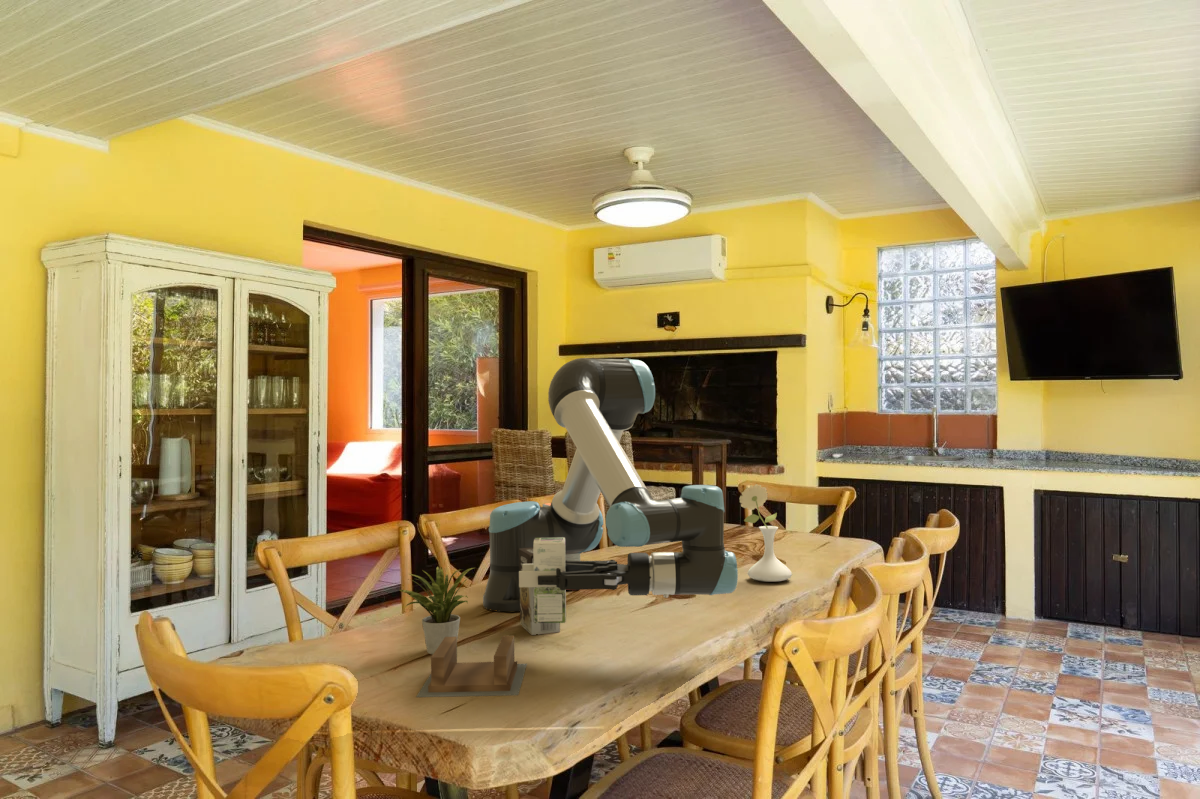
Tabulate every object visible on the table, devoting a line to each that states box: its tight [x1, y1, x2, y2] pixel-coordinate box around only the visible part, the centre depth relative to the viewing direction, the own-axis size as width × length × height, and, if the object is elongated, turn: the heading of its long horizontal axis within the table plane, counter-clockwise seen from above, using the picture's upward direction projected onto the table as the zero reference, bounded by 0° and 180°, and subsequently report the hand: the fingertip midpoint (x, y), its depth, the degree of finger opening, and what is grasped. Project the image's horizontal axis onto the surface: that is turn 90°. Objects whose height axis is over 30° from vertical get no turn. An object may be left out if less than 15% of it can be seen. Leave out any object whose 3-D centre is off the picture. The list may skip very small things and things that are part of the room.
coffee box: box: [519, 548, 561, 636], centre depth 168 cm, size 9×6×16 cm
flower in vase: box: [739, 483, 793, 583], centre depth 211 cm, size 13×11×25 cm
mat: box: [415, 663, 528, 698], centre depth 135 cm, size 16×16×1 cm
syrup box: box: [533, 537, 567, 624], centre depth 146 cm, size 6×6×14 cm
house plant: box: [399, 566, 477, 655], centre depth 154 cm, size 14×14×16 cm
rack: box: [428, 635, 518, 692], centre depth 135 cm, size 13×12×6 cm
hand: (521, 575), depth 146 cm, fingers closed on syrup box, 6 cm apart
